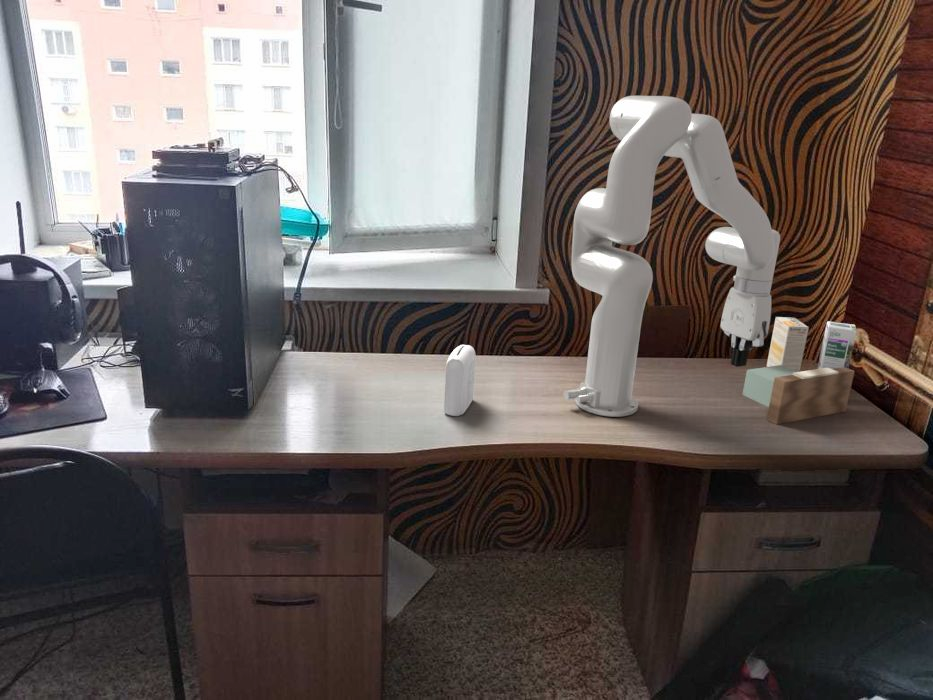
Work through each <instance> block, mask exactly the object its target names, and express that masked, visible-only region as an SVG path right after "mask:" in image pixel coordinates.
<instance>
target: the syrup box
mask: <svg viewBox="0 0 933 700" xmlns="http://www.w3.org/2000/svg"><path fill="white" fill-rule="evenodd" d="M856 336H857V327H856V325H855V324H852V323H851V324H850V323H844V322H843V323H842V322H838V321H837V322H835V321H831V320H830V321H829V320H828V321H827V322H826V324H825V329H824V333H823V339H822V345H821V350H820V353H819V360H818V364H817V367H816V369H821V368H830V369H834V368H841V367H846V368H848V369H850V363H851V359H852V354H853V350H854V345H855V341H856Z"/></svg>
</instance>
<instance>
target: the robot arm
mask: <svg viewBox="0 0 933 700" xmlns="http://www.w3.org/2000/svg"><path fill="white" fill-rule="evenodd" d="M609 114H610V115H609V127H610V130H611V132H612V133H613V135H614V136H615V138H617V139H618V140H619V141H620V142H619V144H618V145H617V146H616V147H615V149H614V152H613V154H612V156H611V158H610V162H609V165H608V172H607V179H606V185H605V186H606V187H605V188H604V187H599V188H598V187H597V188H593V189H590V190H589V191H587V192H585V194H583V196H582V197H581V198H580V199H579V201H578V203H577V206H576V208H575V210H574V211H575V212H574V216H573V225H572V244H571V261H570V262H571V272H572V276H573V279H574V280H575V282H576V283H577V284H578V285H579V286H580V287H582V288H584V289H586V290H588V291H590V292H594V293H596V294H598V295H600V296H602V297H601V299H600V302H599V304H598V305H597V306H596V309H594V312H593V315H592V319H591V322H590V323H591V324H590V333H589V342H588V343H589V345H588V352H587V362H586V371H585V379H584V381H582V382H579V383H580V385H579V386H578V387H577V388H576V389H567V390H564V391H563V395H562V396H563V398H564V400H565V401H569V400H575V402H574V403H575V404H576V405H577V406H578V407H579V408H580V409H582V410H583V411H586V412H588V413H590V414H594V415H597V416H602V417H603V416H604V417H610V418H611V417H613V418H615V417H617V418H622V417H628V416H631V415H633V414H635V413H637V411H638V409H639V401H638V400H637V399H636V398H635V397H633V388H634V387H633V386H634V379H635V373H636V365H637V358H638V351H639V342H640V335H641V328H642V321H643V315H644V310H645V306H646V303H647V300H648V297H649V294H650V291H651V288H652V284H653V280H654V279H653V277H654V275H653V269H652V267H651V265H650V263H649V262H648V260H646V259H645V258H644V257H643V256H641V255H639V254H637V253H634V252H632V251H628V250H625V249H623V248H618V247H614V246H613V243H615V244H619V245H624V246H625V245H626V246H633V245H638V244H640V243H641V242H643V241H644V239H645V238H646V237H647V235H648V233H649V230H650V226H651V225H650V224H651V216H652V207H653V196H654V186H655V185H654V184H655V179H656V173H657V169H658V166H659V164H660V162H661V160H662V159H663V157H664V156H665V157H670V158H677V159H679V158H680V159H682V161H683V164H684V168H685V170H686V173H687V176H688V178H689V182H690V185H691V188H692V191H693V195H694V197H695V198H696V200H697V201H698V202H699V203H700V204H701V205H703V206H704V207H706V208H707V209H708V210H709V211H711V212H713V213H715V215H718V216H719V217H721V218H722V219H723V220H725V221H726V222H727V223H728V224H729V225H730V226H721V227H717V228H715V229H714V230H713V231H711V232H710V233H709V234H708V236H707V238H706V240H705V244H704V245H705V247H704V248H705V251H706V253H707V255H708V256H709V258H711V259H712V260H714V261H716V262H719V263H722V264H726V265H730V266H734V267H736V272H735V275H733V279H732V280H733V281H734V283H733V284H734V285H733V286H732V287H731V288H730V289H729V292H728V293H727V297H726V299H725V302H724V306H723V310H722V315H721V320H720V326H719V327H720V329H722V331H723V333H724V334H725V335H726V336H727V337H729V339H730V341H731V342H730V343H731V344H730V345H731V348H732V352H731V353H732V354H731V358H730V365H731V366H734V367H736V368H737V367H744V366H746V365H747V362H748V357H749V351H751V350H752V349H753V348H754V347H763V346H764V340H765V339H766V338H767V336H768V333H769V330H770V323H771V317H772V295H771V289H772V285H773V279H774V273H775V268H776V263H777V258H778V252H779V247H780V242H781V234H780V233H779V231H777V230H775V229H772V225H771V222H770V220H769V217H768V216H767V213H766V212H765V210H764V209H763V207H762V206H761V205H760V204H759V202H758V201H757V200H756V199H755V198H754V197H753V196H752V194H751V193H750V192H749V191H748V190H747V189H746V188H745V187H744V186H743V184H742V183H741V182H740V181H739V178H738V176H737V173H736V169H735V167H734V161H733V159H732V156H731V152H730V148H729V146H728V142H727V138H726V135H725V132H724V128H723V126H722V124H721V122H720V121H719V120H718V118H716V117H714V116H713V115H712V116H711V115H709V114H703V113H692V109H691V107H690V105H689V103H687V101H685V100H684V99H681V98H679V97H676V96H675V97H674V96H667V95H628V96H625V97H622V98H620V99H619V100H617V102H616V103H614V105H613V106H612V108H611V111H610V113H609Z"/></svg>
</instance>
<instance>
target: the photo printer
mask: <svg viewBox="0 0 933 700" xmlns="http://www.w3.org/2000/svg"><path fill="white" fill-rule="evenodd" d="M476 356H477V355H476V350H475V349H474V347H473V346H472V345H469V344H460V345H458V346H457V347H456V348H454V349H453V351H452V352H451V353H450V355H449V356H448V358H447V360H446V363H445V364H446V365H445V376H444V377H445V379H444V380H445V381H444V382H445V383H444V396H443V397H444V399H443V401H444V402H443V411H444V413H445V415H448V416H452V417H459V416H462V415H463V414H464V413H465V412H466V411H467V409H468V408H469V407H470V405H471V403H473V399H474V389H475V388H474V387H475V373H476V372H475V369H476Z"/></svg>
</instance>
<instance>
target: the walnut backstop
mask: <svg viewBox="0 0 933 700" xmlns="http://www.w3.org/2000/svg"><path fill="white" fill-rule="evenodd" d="M854 376H855V370H853V369H851V368H846V367H841V368H834V369H830V368H821V369H817V368H816V369H809V370H804V371H802V370H800V372H795V373H793V375H788V376H781V377H775V379H774V384H773V389H772V394H771V399H770V404H769V407H768V410H767V413H766V414H767V415H766V421H768V422H771V423H773V424H775V425H781V424H787V423H791V422H796V421H802V420H806V419H807V420H808V419H813V418H818V417H821V416H829V415H834V414H838V413H844V412H846V410H847V407H848V402H849V397H850V392H851V388H852V385H853V380H854Z"/></svg>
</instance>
